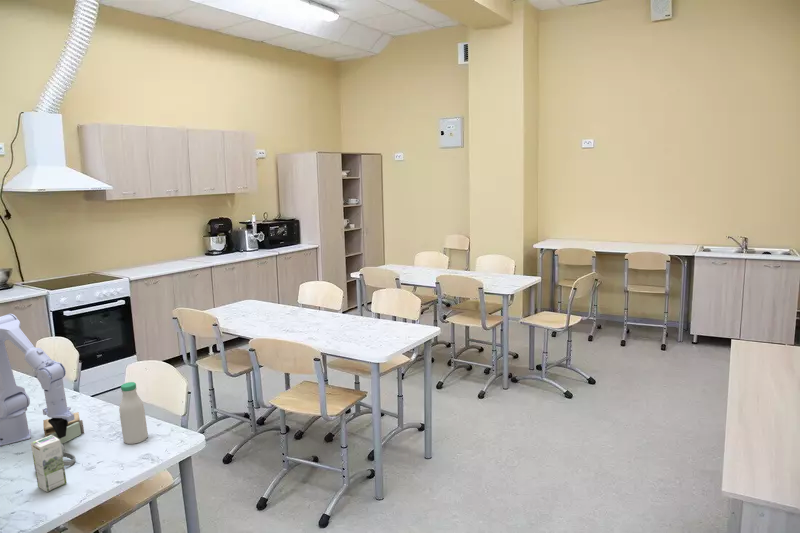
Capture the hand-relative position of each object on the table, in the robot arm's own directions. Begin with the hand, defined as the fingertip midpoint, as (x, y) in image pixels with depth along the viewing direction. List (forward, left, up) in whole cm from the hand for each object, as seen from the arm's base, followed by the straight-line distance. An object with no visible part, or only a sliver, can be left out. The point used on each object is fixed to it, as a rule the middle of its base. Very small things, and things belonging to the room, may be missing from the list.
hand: (62, 437), depth 197 cm
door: (+1, +2, -3) cm, 4 cm away
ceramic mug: (-3, -15, -3) cm, 15 cm away
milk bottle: (+21, -10, -3) cm, 24 cm away
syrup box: (-4, -27, -3) cm, 28 cm away
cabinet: (0, +11, -3) cm, 11 cm away
